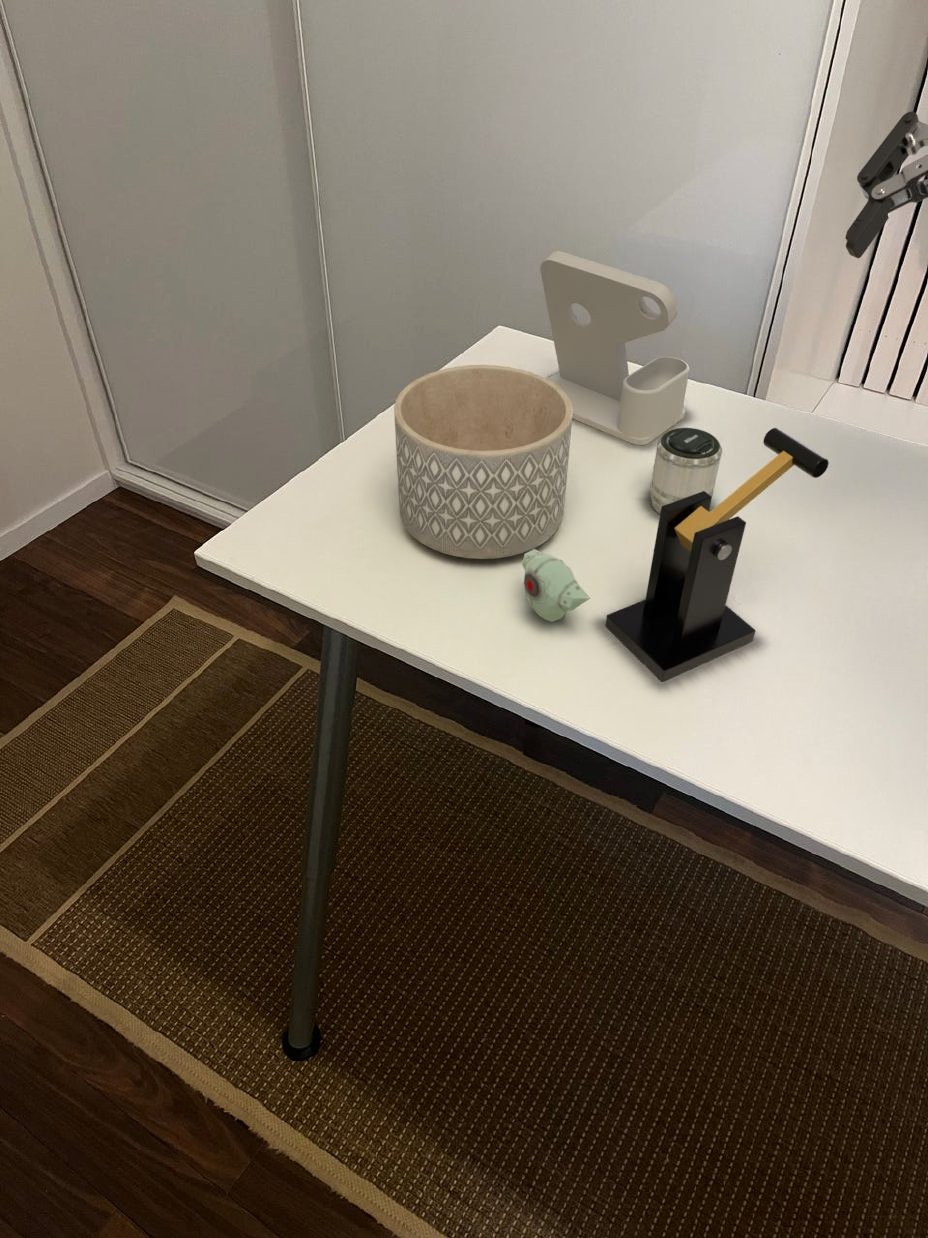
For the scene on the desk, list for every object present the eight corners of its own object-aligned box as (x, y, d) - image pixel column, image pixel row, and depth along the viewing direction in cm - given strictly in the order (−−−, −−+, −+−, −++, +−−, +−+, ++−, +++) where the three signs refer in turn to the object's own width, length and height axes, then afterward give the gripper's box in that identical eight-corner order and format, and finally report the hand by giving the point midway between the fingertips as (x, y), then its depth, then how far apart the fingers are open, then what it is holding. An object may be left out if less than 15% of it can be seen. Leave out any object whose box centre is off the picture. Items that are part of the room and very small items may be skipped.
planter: (496, 457, 103) (500, 349, 95) (596, 529, 94) (610, 416, 85) (369, 507, 96) (360, 395, 88) (462, 592, 86) (463, 475, 78)
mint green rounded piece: (591, 636, 82) (599, 576, 77) (553, 654, 80) (559, 593, 76) (537, 586, 87) (542, 527, 82) (501, 602, 85) (503, 542, 81)
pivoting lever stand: (692, 589, 87) (718, 472, 78) (753, 641, 82) (787, 521, 73) (604, 625, 83) (621, 506, 74) (662, 682, 78) (686, 561, 69)
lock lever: (780, 439, 78) (776, 420, 76) (830, 471, 74) (827, 452, 72) (667, 534, 78) (660, 517, 76) (712, 570, 74) (706, 553, 72)
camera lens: (721, 505, 97) (736, 438, 91) (686, 530, 93) (699, 463, 88) (671, 480, 100) (683, 415, 95) (635, 504, 97) (645, 438, 91)
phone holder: (691, 414, 110) (720, 262, 98) (644, 449, 105) (667, 291, 92) (572, 368, 119) (584, 222, 107) (522, 398, 113) (529, 247, 101)
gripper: (948, 12, 68) (808, 217, 72) (1147, 62, 60) (978, 288, 64) (963, 75, 74) (833, 261, 78) (1146, 128, 66) (991, 331, 70)
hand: (899, 273), depth 71 cm, fingers open, 8 cm apart
